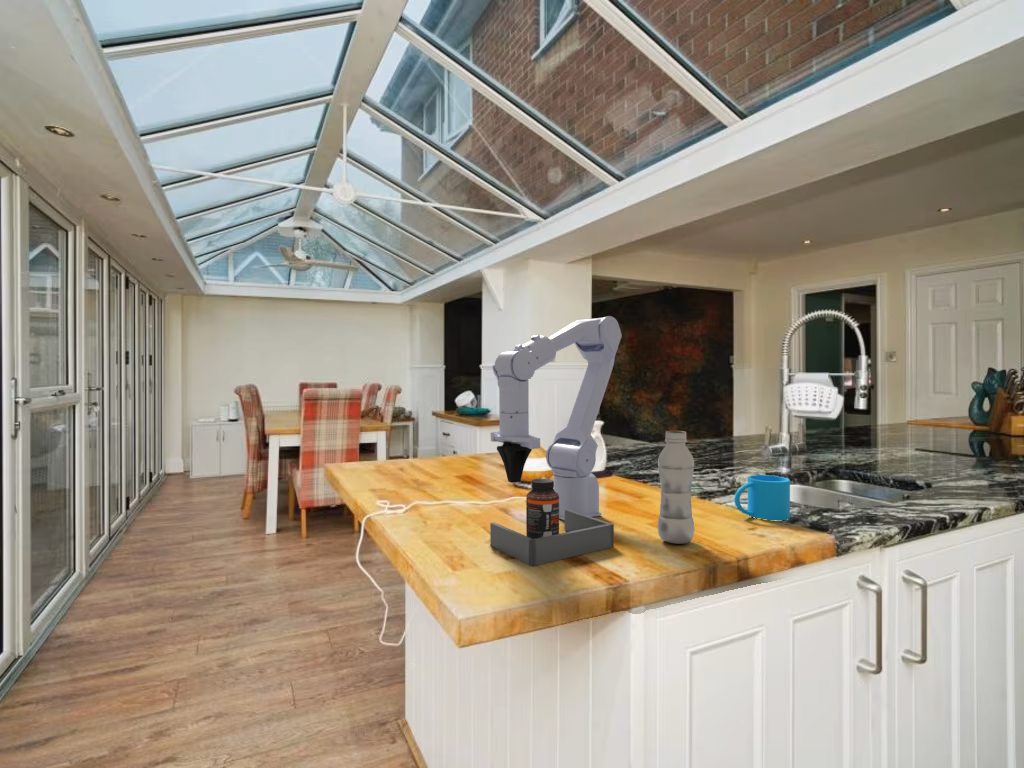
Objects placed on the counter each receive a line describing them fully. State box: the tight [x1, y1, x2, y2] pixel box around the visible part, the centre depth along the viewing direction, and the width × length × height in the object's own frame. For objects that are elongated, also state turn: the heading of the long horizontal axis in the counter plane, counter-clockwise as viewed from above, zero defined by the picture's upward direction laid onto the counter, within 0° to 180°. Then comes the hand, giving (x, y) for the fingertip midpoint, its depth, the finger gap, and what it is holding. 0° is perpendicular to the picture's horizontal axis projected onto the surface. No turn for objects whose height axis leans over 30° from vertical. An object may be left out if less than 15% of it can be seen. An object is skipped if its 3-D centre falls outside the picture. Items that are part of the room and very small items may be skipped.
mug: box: [733, 474, 791, 521], centre depth 116 cm, size 12×8×8 cm
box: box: [489, 509, 615, 567], centre depth 96 cm, size 18×13×4 cm
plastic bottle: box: [657, 430, 695, 545], centre depth 98 cm, size 6×7×20 cm
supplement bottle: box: [525, 478, 560, 539], centre depth 98 cm, size 6×6×11 cm
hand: (514, 481), depth 107 cm, fingers closed
